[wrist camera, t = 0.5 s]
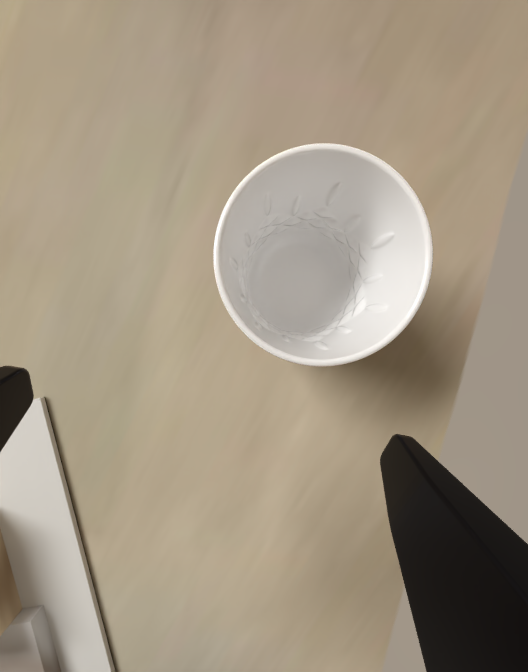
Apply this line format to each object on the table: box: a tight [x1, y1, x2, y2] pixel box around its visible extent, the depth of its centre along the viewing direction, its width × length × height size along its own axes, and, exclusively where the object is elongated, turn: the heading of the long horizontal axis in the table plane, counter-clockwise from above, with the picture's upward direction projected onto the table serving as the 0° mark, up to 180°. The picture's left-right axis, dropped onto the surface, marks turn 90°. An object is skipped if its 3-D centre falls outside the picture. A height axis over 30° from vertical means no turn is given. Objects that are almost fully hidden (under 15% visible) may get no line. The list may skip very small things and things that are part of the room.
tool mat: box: [0, 397, 115, 672], centre depth 22 cm, size 24×11×1 cm, turn 12°
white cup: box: [213, 143, 433, 366], centre depth 16 cm, size 8×8×10 cm
